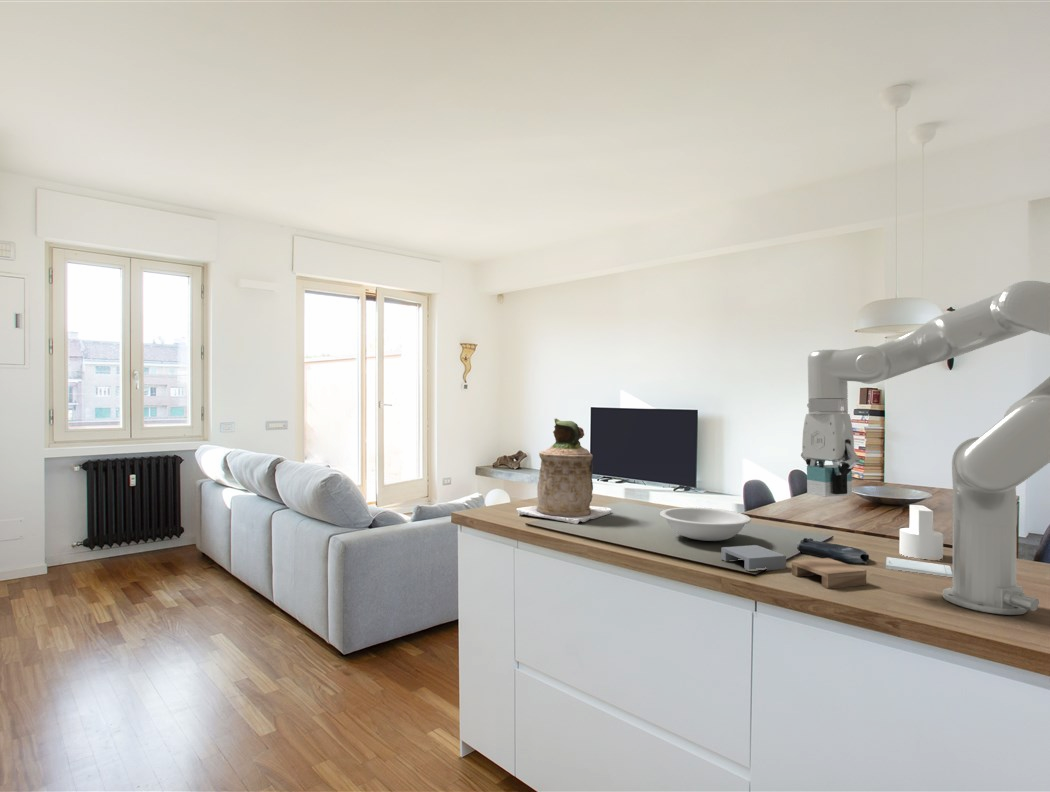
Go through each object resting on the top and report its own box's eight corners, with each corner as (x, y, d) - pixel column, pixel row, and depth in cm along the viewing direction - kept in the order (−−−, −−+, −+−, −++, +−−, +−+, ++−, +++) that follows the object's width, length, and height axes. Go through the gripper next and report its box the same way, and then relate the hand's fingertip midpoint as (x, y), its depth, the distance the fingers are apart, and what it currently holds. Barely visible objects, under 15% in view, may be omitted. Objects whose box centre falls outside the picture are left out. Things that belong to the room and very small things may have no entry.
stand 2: (866, 584, 121) (866, 570, 121) (827, 588, 118) (828, 573, 118) (828, 571, 130) (828, 557, 130) (791, 574, 127) (791, 560, 127)
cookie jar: (580, 525, 175) (581, 420, 176) (513, 516, 189) (514, 418, 189) (614, 513, 196) (615, 418, 197) (551, 505, 210) (552, 417, 210)
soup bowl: (741, 531, 170) (741, 509, 170) (759, 552, 146) (760, 526, 146) (657, 527, 174) (657, 505, 174) (662, 547, 150) (662, 521, 150)
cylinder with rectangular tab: (895, 549, 151) (895, 503, 151) (936, 553, 147) (936, 506, 148) (904, 558, 142) (904, 509, 142) (948, 562, 139) (948, 512, 139)
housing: (825, 496, 121) (825, 465, 121) (807, 493, 125) (806, 463, 126) (851, 495, 123) (851, 464, 123) (833, 492, 127) (832, 462, 128)
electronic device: (795, 560, 145) (860, 565, 134) (794, 538, 146) (858, 540, 135) (812, 559, 151) (875, 564, 140) (810, 537, 152) (873, 540, 141)
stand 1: (786, 568, 132) (786, 555, 132) (749, 572, 129) (749, 558, 129) (756, 557, 141) (756, 545, 141) (721, 560, 138) (721, 547, 138)
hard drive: (885, 564, 133) (952, 573, 126) (886, 556, 140) (950, 564, 133) (885, 571, 133) (952, 580, 126) (886, 563, 140) (950, 571, 133)
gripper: (784, 407, 131) (786, 487, 131) (846, 407, 115) (848, 498, 115) (811, 407, 134) (812, 486, 133) (876, 407, 117) (877, 497, 117)
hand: (829, 491), depth 124 cm, fingers closed on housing, 5 cm apart
